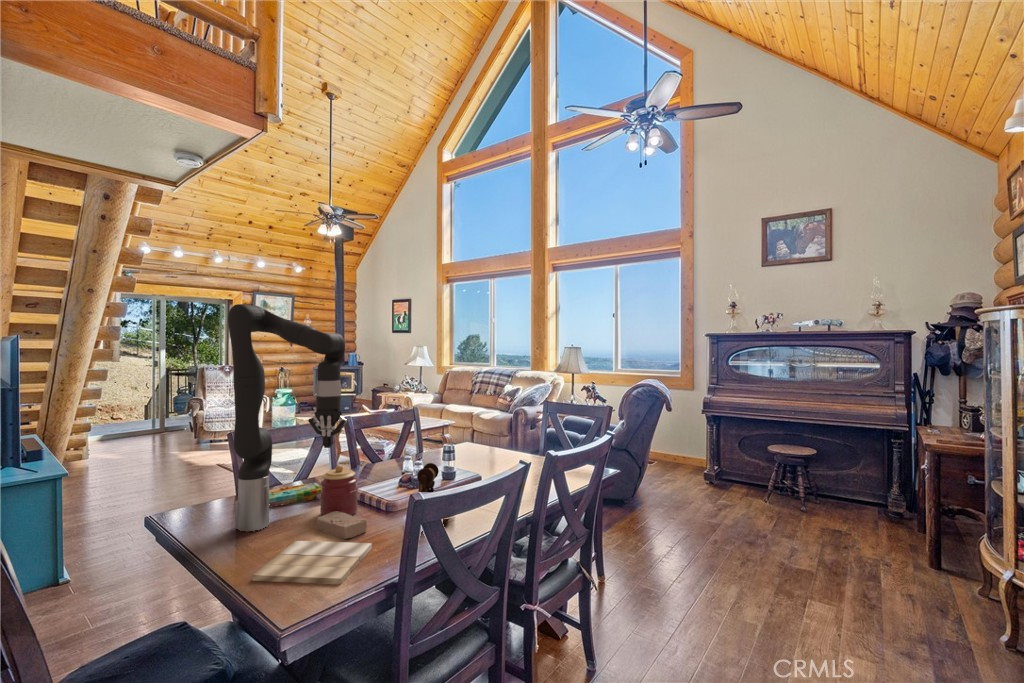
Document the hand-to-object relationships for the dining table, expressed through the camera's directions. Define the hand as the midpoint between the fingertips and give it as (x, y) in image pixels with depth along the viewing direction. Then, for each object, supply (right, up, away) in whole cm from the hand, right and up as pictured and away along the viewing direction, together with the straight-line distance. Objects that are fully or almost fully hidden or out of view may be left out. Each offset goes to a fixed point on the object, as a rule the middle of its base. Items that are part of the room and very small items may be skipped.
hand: (327, 447), depth 152 cm
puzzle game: (-27, -29, +35) cm, 53 cm away
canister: (-4, -29, +20) cm, 35 cm away
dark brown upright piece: (+31, -29, +10) cm, 43 cm away
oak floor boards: (+4, -29, -24) cm, 38 cm away
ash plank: (+5, -29, -13) cm, 32 cm away
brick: (+3, -29, +4) cm, 29 cm away
